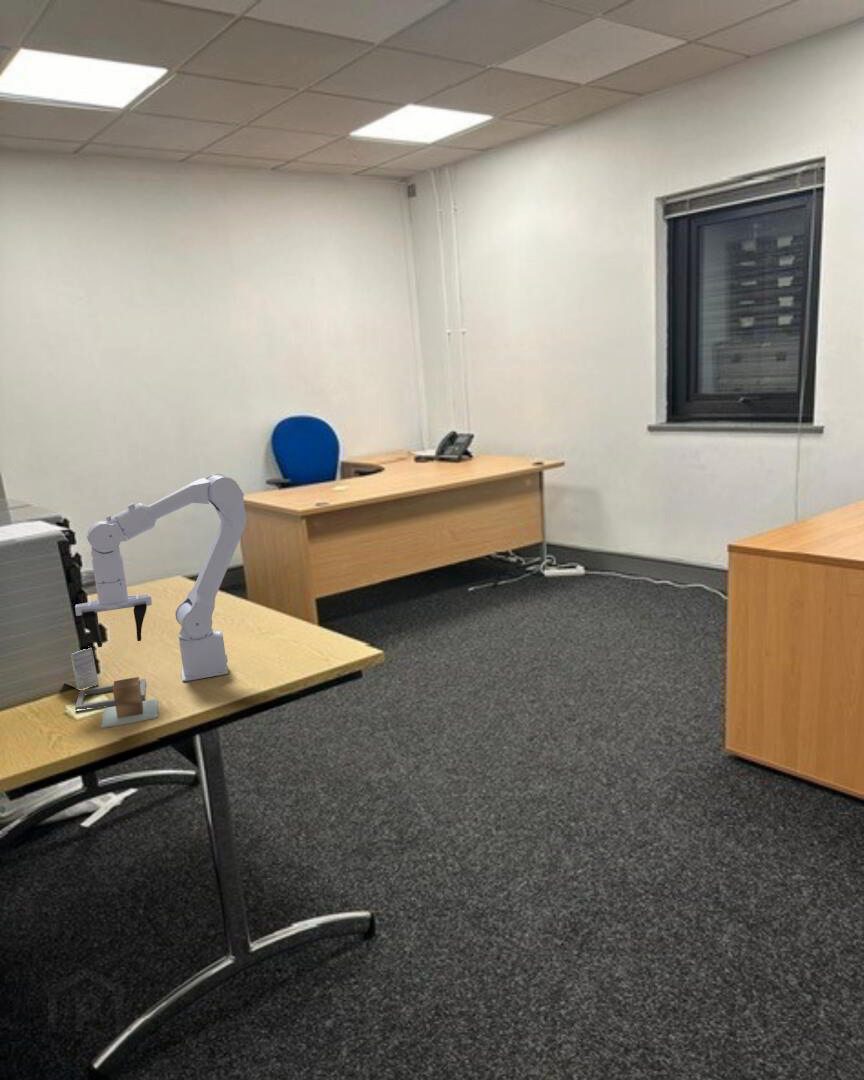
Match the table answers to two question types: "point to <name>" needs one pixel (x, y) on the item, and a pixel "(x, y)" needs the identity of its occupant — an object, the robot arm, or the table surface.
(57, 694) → the table surface
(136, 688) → the walnut block
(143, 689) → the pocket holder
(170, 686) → the table surface
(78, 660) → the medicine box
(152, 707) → the mat
